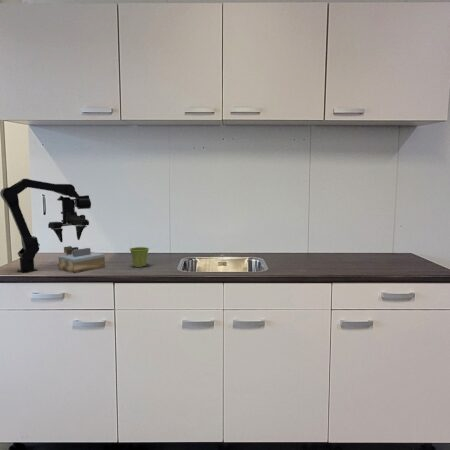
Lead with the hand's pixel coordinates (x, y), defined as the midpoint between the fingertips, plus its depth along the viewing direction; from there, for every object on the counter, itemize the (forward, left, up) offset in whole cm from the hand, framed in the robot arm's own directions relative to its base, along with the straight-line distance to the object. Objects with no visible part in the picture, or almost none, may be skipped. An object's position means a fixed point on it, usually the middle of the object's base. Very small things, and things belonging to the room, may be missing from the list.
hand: (70, 241), depth 182 cm
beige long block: (+3, -1, -6) cm, 7 cm away
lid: (+11, -1, -8) cm, 14 cm away
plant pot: (+29, +19, -12) cm, 37 cm away
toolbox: (+9, -1, -12) cm, 15 cm away
